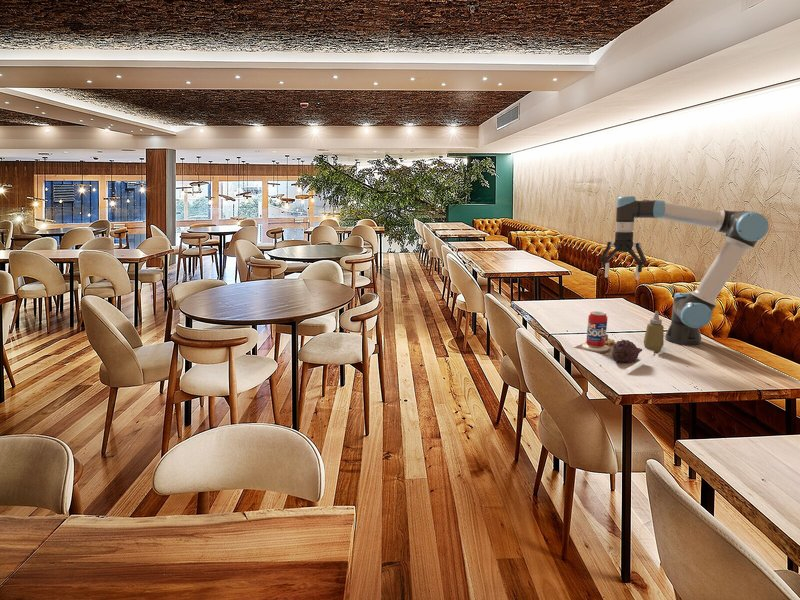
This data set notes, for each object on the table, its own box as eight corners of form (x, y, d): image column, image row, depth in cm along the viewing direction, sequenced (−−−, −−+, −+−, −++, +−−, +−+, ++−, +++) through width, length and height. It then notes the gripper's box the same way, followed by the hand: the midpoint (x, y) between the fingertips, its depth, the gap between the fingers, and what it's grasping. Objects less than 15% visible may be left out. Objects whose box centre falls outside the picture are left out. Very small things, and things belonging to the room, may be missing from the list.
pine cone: (622, 371, 210) (625, 346, 208) (600, 364, 218) (602, 341, 216) (646, 363, 221) (649, 339, 219) (624, 356, 228) (626, 334, 226)
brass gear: (617, 343, 243) (617, 334, 243) (610, 346, 238) (610, 337, 237) (600, 339, 249) (601, 331, 248) (593, 343, 243) (594, 334, 242)
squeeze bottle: (664, 354, 232) (669, 314, 229) (645, 353, 234) (649, 313, 230) (659, 349, 240) (664, 310, 236) (640, 347, 242) (644, 309, 238)
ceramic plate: (612, 347, 236) (612, 346, 236) (602, 353, 228) (602, 351, 228) (588, 342, 244) (589, 341, 243) (577, 347, 236) (577, 346, 236)
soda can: (602, 343, 239) (605, 311, 236) (606, 349, 232) (610, 315, 229) (584, 343, 240) (586, 310, 237) (588, 348, 232) (591, 314, 229)
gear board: (624, 347, 242) (625, 344, 242) (604, 357, 227) (604, 354, 227) (595, 341, 252) (595, 338, 252) (573, 350, 236) (573, 347, 236)
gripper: (593, 231, 245) (591, 276, 249) (651, 232, 229) (647, 281, 233) (599, 230, 251) (597, 274, 255) (656, 231, 234) (653, 279, 239)
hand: (621, 278), depth 244 cm, fingers open, 13 cm apart
